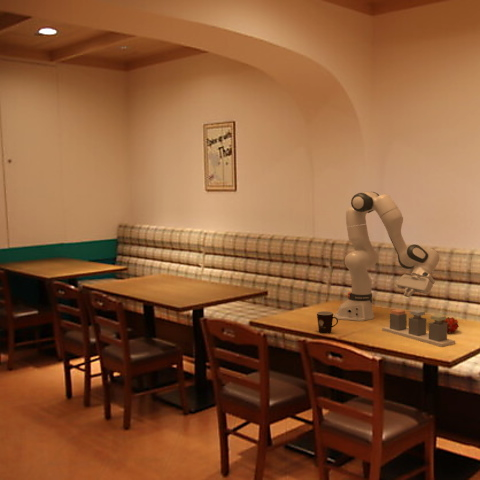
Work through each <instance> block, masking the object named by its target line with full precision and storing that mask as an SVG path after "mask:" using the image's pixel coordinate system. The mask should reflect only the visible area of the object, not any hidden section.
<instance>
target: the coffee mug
mask: <svg viewBox="0 0 480 480" xmlns="http://www.w3.org/2000/svg"><path fill="white" fill-rule="evenodd" d="M316 317H317V326H318V333H320V334H331V333H332V330H333V329H332V328H333V327H335V326H337V325H338V323H339V319H337V318H336V317H334V312H332V311H327V310H326V311H325V310H324V311H322V310H321V311H317V312H316ZM334 319H335V320H336V323H335V324H334V325H333V321H334Z"/></svg>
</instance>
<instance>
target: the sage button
mask: <svg viewBox="0 0 480 480" xmlns="http://www.w3.org/2000/svg"><path fill="white" fill-rule="evenodd" d="M446 318H447V316H446V315H442V314H433V315H430V320H433V322H434V324H438V325H439V324H442V320H446Z"/></svg>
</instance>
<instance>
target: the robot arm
mask: <svg viewBox="0 0 480 480" xmlns="http://www.w3.org/2000/svg"><path fill="white" fill-rule="evenodd" d="M350 201H351V202H350V204H351V205H350V206H349V208H347V209H346V213H345V221H346V224H345V225H346V229H347V236H348V237H347V238H348V241H349V242H350V243H351V244H352V246H353V248H354V250H353V251H351V252H349V253H348V254H347V255H345V258H344V264H345V267H346V268H347V269H348V271H349V273H350V275H349V276H350V278H351V291H348V293H347V299H346V300H345V301H344V302H342V303H341V304H340V305H339V307H338V310H337V312H336V313H334V314H333V317H336V318H337V319H338V320H343V321H344V320H345V321H355V322H357V321H358V322H364V321H367V320H373V319H375V315H374V312H373V292H372V289H373V288H372V285H373V284H372V279H371V277H370V276H369V272H368V268H372V267H373V266H375V265H376V264H378V261H379V253H378V252H377V251H376V250H375V249H374V247H373V245H372V243H371V240H370V236H369V231H368V226H367V220H366V219H367V218H366V216H367V214H370V213H372V212H374V211H375V212H376V213H377V215H378V217H379V218H380V220H381V222H382V224H383V225H384V227H385V230H386V233H387V234H388V237H389V239H390V241H391V244H392V245H393V248H394V250H395V252H396V254H397V260H398V261H397V262H398V263H399V265H400V267H402V268H403V269H406V270H410V269H411V270H412V272H411V273H405V274H402V275H401V276H400V277H399V279H398V280H397V281H396V283H395V285H396V286H397V288H398V289H402V290H404V293H403V296H404V297H406V298H410V297H411V296H412V295H413V294H415V293H420V294H425V295H427V294H430V291H431V290H432V288H433V286H434V285H435V283H436V281H435V279H434V278H433V276H432V272H434V271H435V269H436V267H437V266H438V264H439V262H440V258H441V257H440V254H439V253H438V251H436V250H435V249H434V248H425V247H422V246H421V245H419V244H411V245H410V244H409V246H407V244H406V242H405V240H404V238H403V236H402V226H403V222H404V217H403V215H402V212H401V209H399V207H398V205H397V204H396V202H395V201H394V199H392V197H391V196H390V195H388V194H387V193H386V194H385V193H384V194H379V193H377V192H375V191H362V192H358V193H356V194H355V195H353V196H352V198H351V200H350Z"/></svg>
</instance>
